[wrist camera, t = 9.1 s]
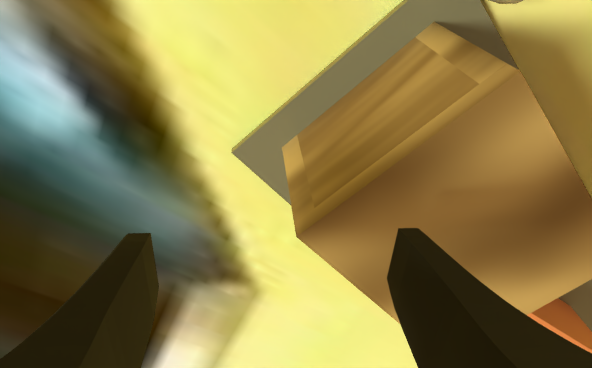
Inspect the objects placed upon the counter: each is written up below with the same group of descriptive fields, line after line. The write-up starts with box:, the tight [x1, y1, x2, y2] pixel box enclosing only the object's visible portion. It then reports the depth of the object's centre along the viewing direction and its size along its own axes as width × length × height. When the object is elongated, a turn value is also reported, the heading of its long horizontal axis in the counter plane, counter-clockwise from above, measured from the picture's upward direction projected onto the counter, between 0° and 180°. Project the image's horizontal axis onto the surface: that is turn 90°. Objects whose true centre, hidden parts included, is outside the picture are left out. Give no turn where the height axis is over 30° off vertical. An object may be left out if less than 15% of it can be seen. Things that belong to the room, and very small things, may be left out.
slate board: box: [232, 0, 592, 332], centre depth 27 cm, size 31×13×1 cm, turn 41°
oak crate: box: [282, 22, 592, 323], centre depth 20 cm, size 11×9×7 cm
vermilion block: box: [527, 298, 592, 353], centre depth 27 cm, size 11×4×5 cm, turn 52°
